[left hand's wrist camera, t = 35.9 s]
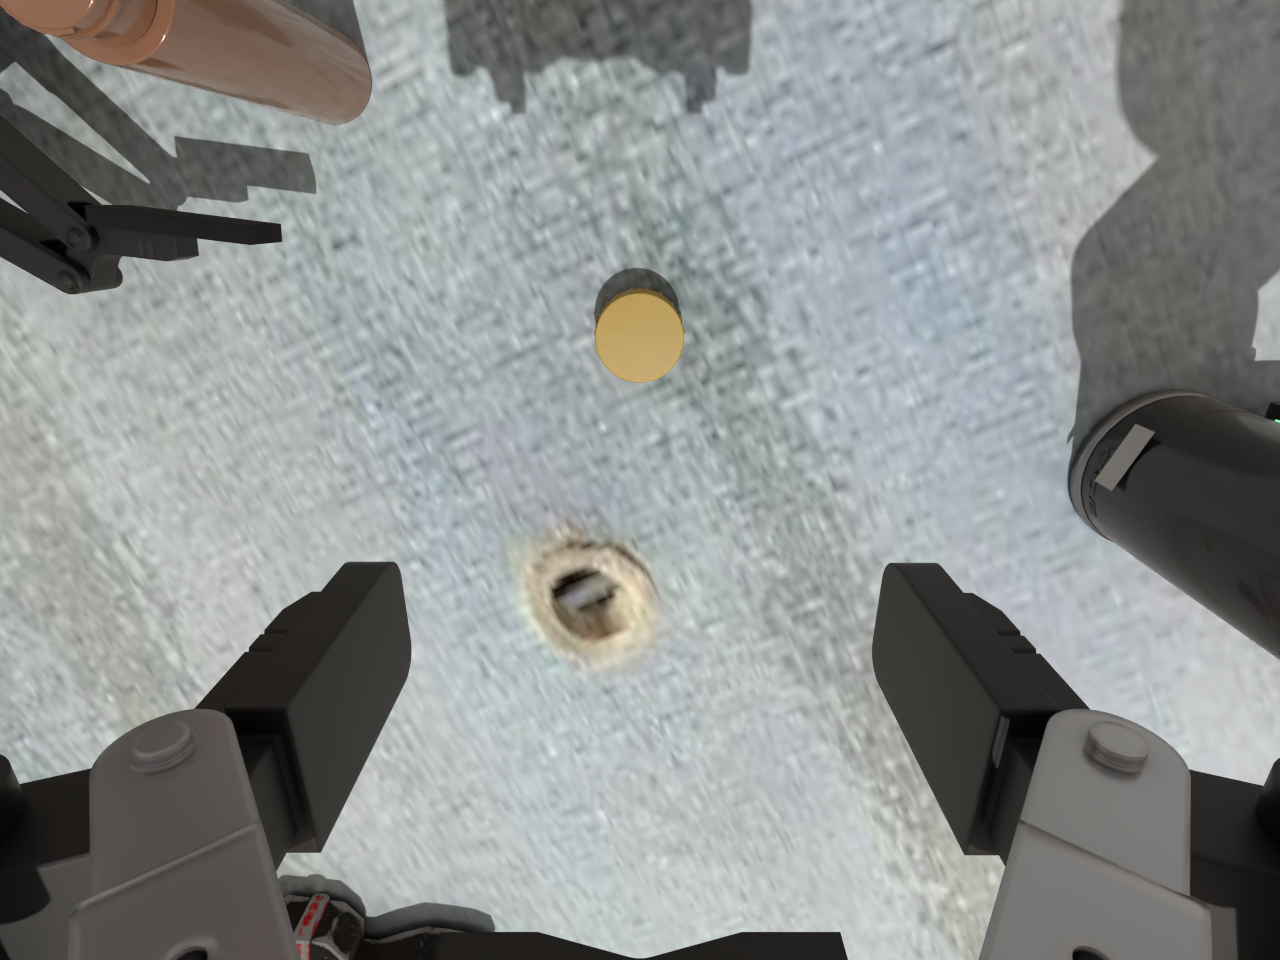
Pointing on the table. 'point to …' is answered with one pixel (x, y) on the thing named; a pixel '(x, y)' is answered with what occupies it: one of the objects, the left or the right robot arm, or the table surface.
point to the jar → (217, 49)
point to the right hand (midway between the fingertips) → (252, 50)
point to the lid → (639, 335)
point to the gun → (351, 933)
